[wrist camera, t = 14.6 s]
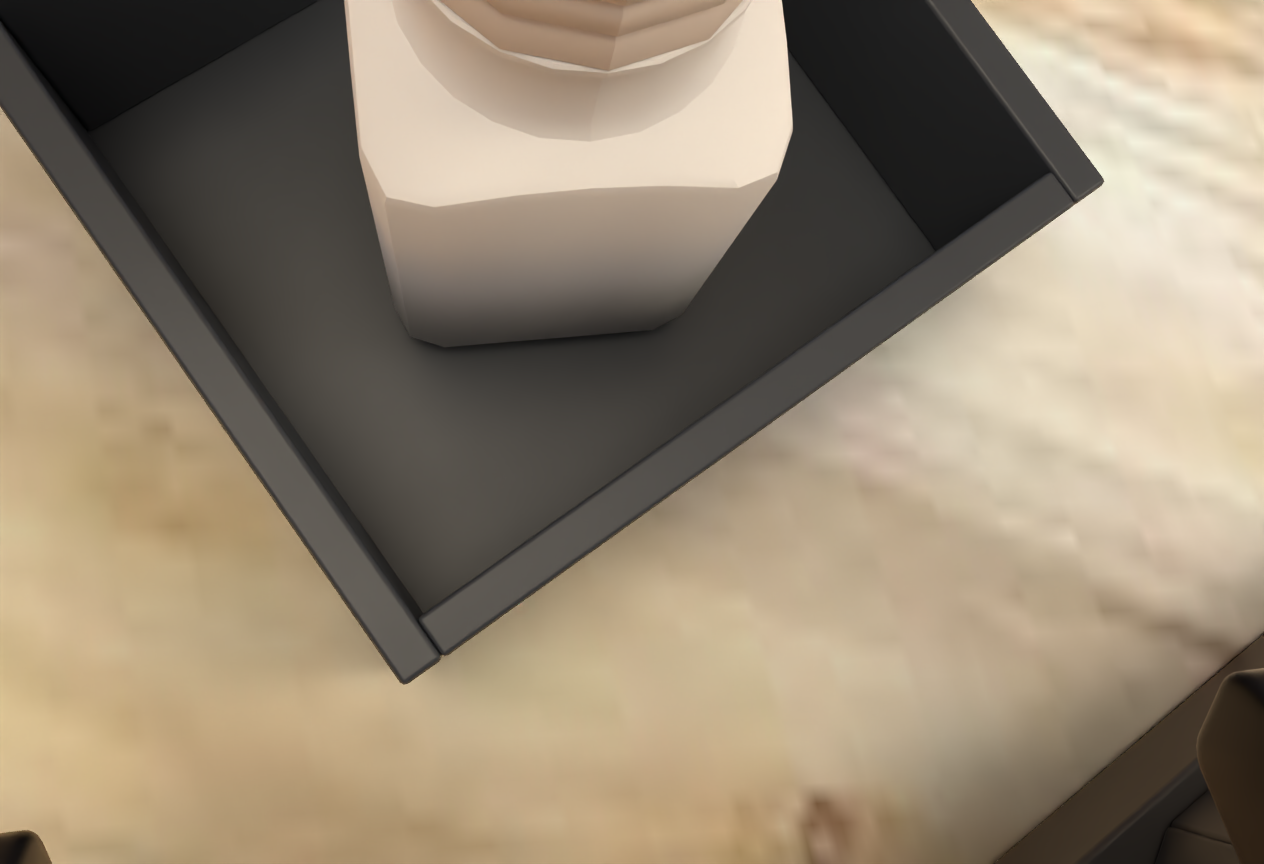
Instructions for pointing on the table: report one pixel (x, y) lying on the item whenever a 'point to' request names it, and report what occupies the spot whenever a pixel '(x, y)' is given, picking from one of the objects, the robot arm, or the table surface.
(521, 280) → the pepper shaker
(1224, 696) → the robot arm
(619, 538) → the table surface
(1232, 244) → the table surface
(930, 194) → the dark grey open box
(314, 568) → the table surface
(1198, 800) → the button base
